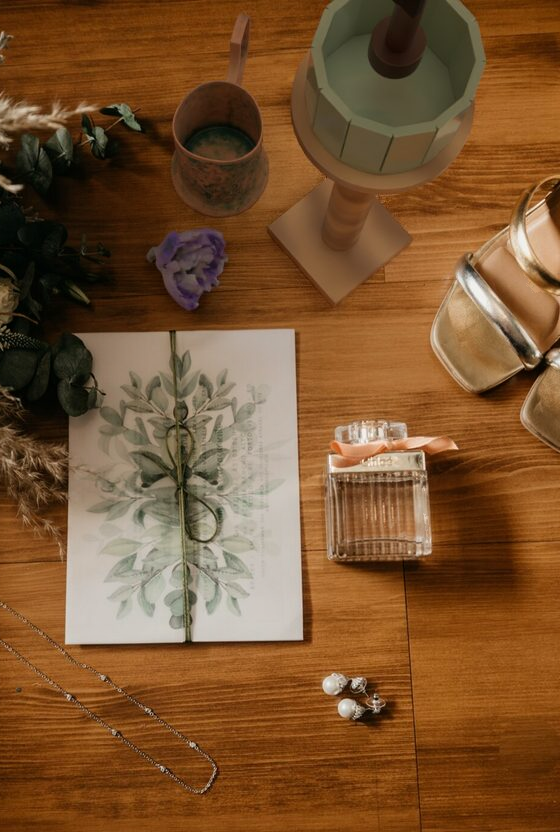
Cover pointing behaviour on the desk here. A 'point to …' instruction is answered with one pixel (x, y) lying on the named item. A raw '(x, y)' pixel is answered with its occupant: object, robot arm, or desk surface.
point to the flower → (190, 263)
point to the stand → (348, 209)
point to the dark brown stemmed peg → (397, 44)
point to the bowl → (390, 86)
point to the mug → (221, 140)
